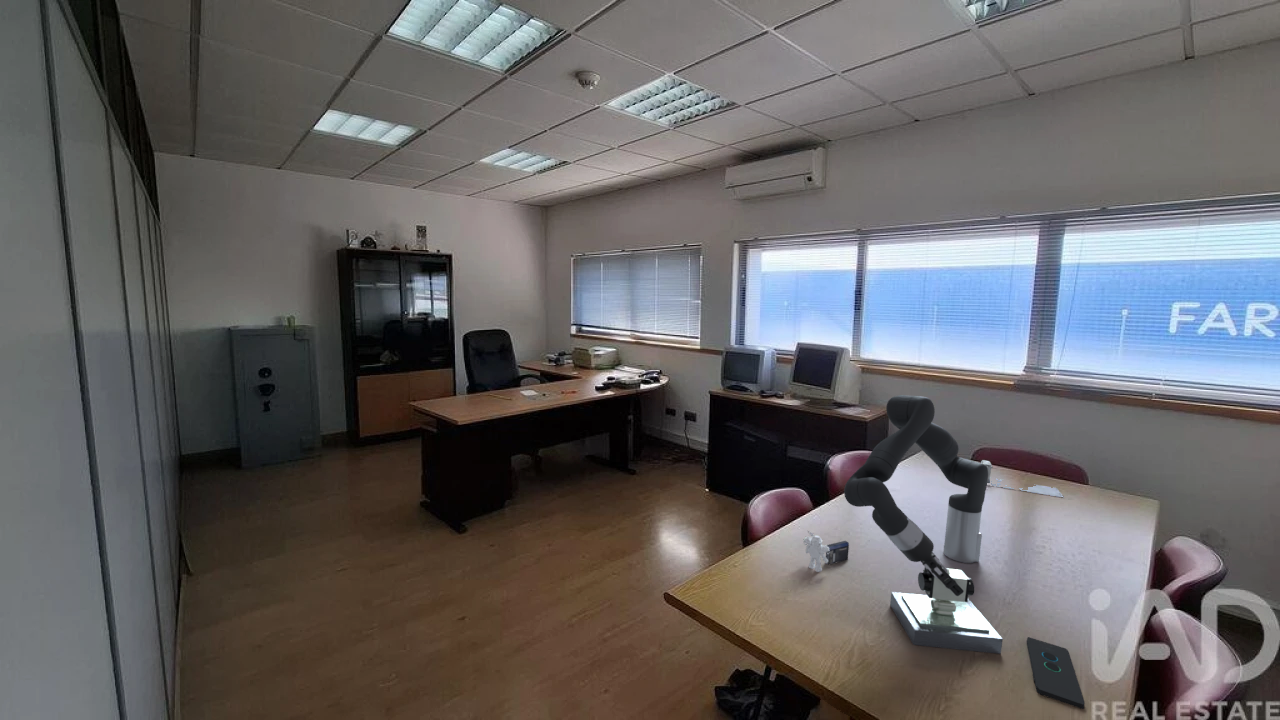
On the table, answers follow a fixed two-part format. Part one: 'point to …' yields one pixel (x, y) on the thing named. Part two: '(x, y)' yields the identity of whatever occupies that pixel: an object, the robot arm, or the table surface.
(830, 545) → the mini dv tape
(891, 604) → the grey picture frame
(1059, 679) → the smart home device
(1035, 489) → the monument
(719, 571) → the table surface
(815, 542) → the hat wearing toy figure
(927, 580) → the pneumatic valve
